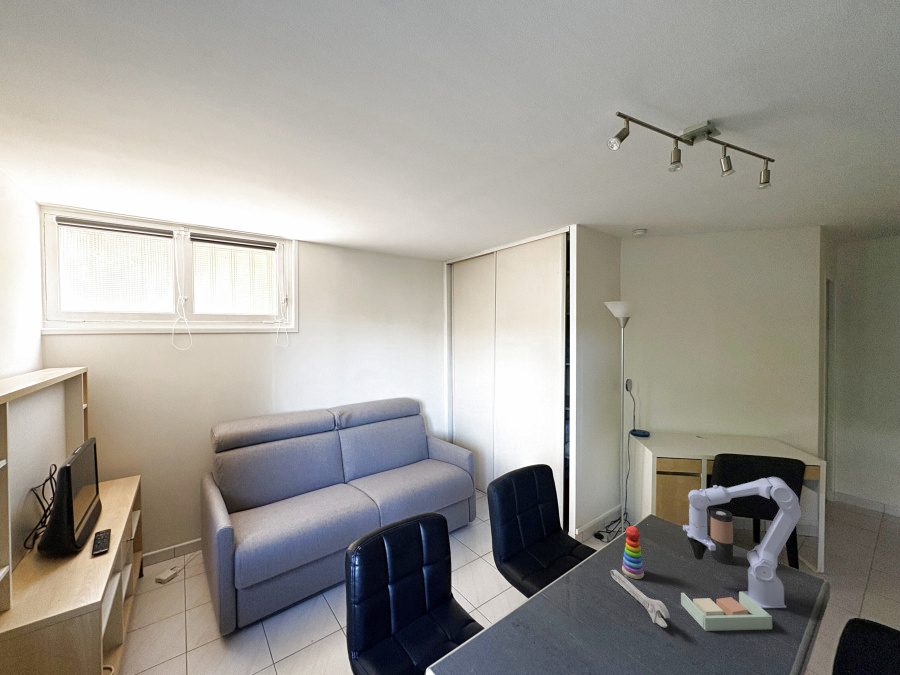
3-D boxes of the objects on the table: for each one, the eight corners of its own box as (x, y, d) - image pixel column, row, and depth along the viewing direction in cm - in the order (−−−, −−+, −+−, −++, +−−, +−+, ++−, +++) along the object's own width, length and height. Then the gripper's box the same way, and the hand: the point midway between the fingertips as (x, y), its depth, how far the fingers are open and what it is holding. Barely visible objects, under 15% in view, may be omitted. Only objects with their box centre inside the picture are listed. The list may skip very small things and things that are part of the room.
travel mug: (738, 564, 147) (737, 516, 147) (719, 564, 147) (718, 516, 147) (724, 553, 154) (723, 507, 155) (706, 553, 154) (705, 507, 155)
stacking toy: (617, 570, 144) (616, 524, 144) (631, 565, 147) (630, 519, 147) (634, 582, 136) (634, 533, 137) (648, 576, 140) (648, 528, 140)
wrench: (615, 583, 140) (672, 635, 111) (611, 583, 140) (666, 636, 111) (613, 561, 141) (669, 607, 112) (609, 562, 141) (664, 608, 112)
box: (742, 602, 125) (741, 591, 125) (772, 629, 114) (772, 616, 114) (681, 604, 125) (680, 592, 125) (705, 630, 113) (705, 618, 113)
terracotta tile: (731, 605, 125) (731, 597, 125) (748, 618, 119) (747, 609, 119) (716, 607, 124) (716, 599, 124) (732, 620, 118) (732, 611, 118)
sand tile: (709, 606, 124) (709, 598, 124) (723, 620, 118) (723, 611, 118) (693, 607, 124) (693, 598, 124) (706, 620, 118) (706, 611, 118)
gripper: (675, 514, 143) (675, 547, 143) (702, 533, 129) (702, 571, 128) (692, 513, 143) (692, 547, 143) (720, 532, 129) (721, 570, 129)
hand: (698, 558), depth 136 cm, fingers closed
